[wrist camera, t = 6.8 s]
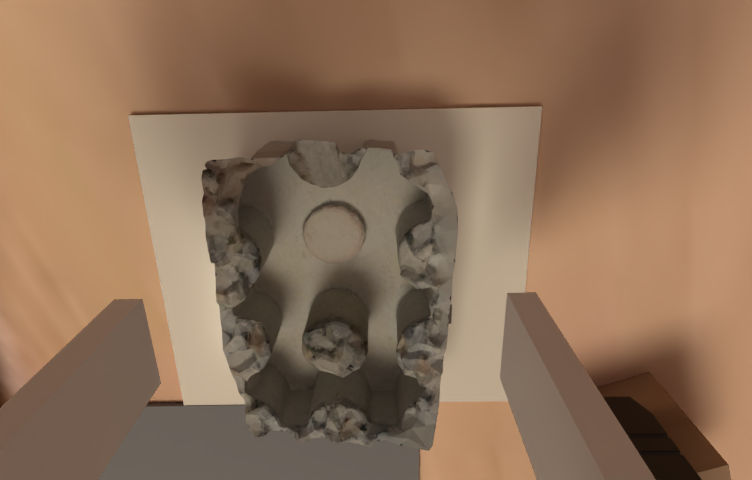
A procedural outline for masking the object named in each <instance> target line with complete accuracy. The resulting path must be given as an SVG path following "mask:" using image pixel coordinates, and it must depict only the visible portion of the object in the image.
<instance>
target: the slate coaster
mask: <svg viewBox="0 0 752 480" xmlns="http://www.w3.org/2000/svg"><path fill="white" fill-rule="evenodd" d="M245 409H246V405H184V403H148V404H147V405H146V407H145V408H144V410H143V411H142V413H141V414H140V416H139V417H138V419H137V420H136V422H135V423H134V425H133V427H132V428H131V430H130V431H129V433H128V434H127V436H126V437H125V439H124V440H123V442H122V443H121V445H120V447H119V448H118V450H117V451H116V453H115V454H114V456H113V457H112V459H111V460H110V462H109V463H108V465H107V467H106V468H105V470H104V471H103V473H102V474H101V476H100V477H99V479H98V480H419V449H415V448H409V447H404V446H400V445H397V444H395V443H392V442H390V441H387V440H383V441H380V442H378V443H376V444H374V445H373V446H371V447H370V448H369V447H367V446H365V445H360V444H356V443H351V442H343V443H338V444H336V443H335V442H331V441H330V440H327V439H324V438H314V439H312V440H309V441H307V442H304V443H301V442H297V440H296V438H295V436H294V434H291V433H289V432H286V431H270V432H268V433H267V434H266V435H265V436H262V437H254V436H253V434H252V433H251V431H250V429H249V428H248V427H247V424H246V419H245Z"/></svg>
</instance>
